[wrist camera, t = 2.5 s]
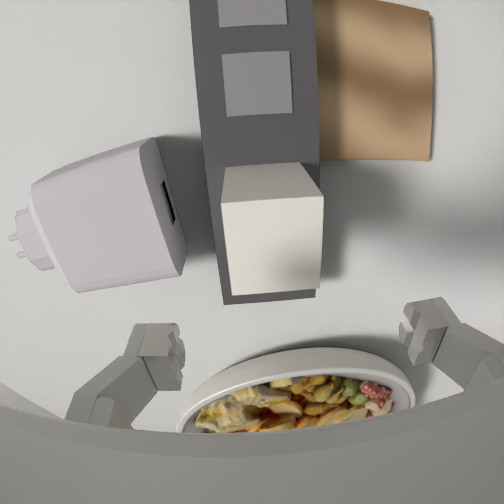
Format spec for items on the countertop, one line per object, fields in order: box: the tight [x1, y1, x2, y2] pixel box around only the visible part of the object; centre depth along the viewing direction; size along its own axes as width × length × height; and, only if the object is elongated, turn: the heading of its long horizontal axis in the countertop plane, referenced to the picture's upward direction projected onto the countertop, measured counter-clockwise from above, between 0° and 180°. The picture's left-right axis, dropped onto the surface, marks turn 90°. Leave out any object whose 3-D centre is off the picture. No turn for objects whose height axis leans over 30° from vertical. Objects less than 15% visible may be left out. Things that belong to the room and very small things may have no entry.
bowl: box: [176, 347, 416, 433], centre depth 35 cm, size 30×30×8 cm
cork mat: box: [312, 0, 433, 161], centre depth 18 cm, size 12×9×1 cm
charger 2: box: [221, 162, 324, 296], centre depth 18 cm, size 5×4×8 cm
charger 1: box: [9, 137, 187, 293], centre depth 21 cm, size 5×9×15 cm
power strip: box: [189, 0, 319, 305], centre depth 18 cm, size 28×7×4 cm, turn 4°
